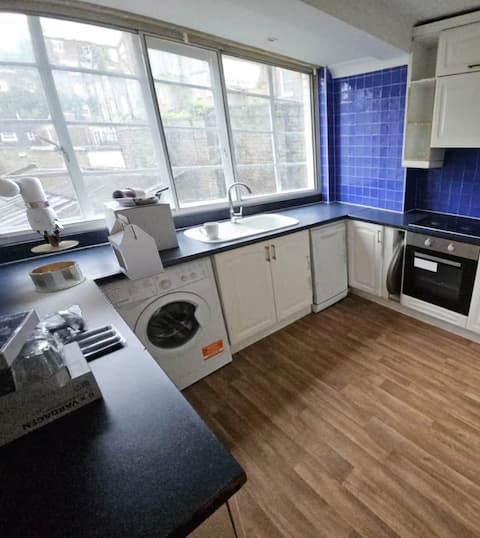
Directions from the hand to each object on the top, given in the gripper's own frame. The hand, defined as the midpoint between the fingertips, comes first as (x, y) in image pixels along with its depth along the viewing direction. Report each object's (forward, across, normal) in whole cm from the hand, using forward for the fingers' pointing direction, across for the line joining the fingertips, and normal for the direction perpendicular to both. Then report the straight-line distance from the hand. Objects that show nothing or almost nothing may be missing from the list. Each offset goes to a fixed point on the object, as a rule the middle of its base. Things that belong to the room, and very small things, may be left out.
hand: (54, 242), depth 143 cm
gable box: (+15, +40, -6) cm, 43 cm away
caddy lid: (+2, 0, 0) cm, 2 cm away
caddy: (+15, +11, -16) cm, 25 cm away
